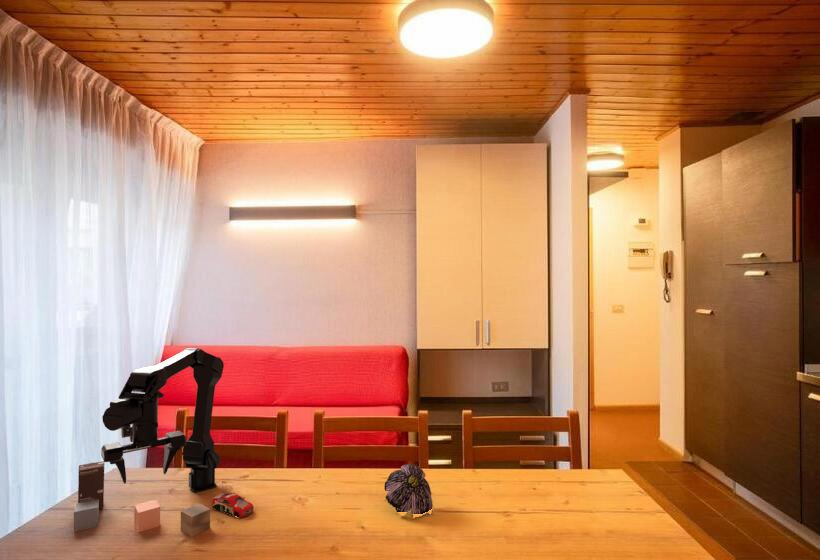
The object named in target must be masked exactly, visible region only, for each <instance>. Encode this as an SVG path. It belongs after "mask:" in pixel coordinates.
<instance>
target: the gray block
mask: <svg viewBox="0 0 820 560" xmlns="http://www.w3.org/2000/svg"><path fill="white" fill-rule="evenodd" d="M99 513H100V509H99V499H98V500H92V501H87V502H82V503H78V502H77V503H75V505H74V510H73V532H77V531H76V530H78V531H81V530H82V529H83V530H88V529H92V528H95V527H98V526H99V520H100V519H99V517H100V514H99Z"/></svg>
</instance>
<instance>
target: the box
mask: <svg viewBox="0 0 820 560" xmlns="http://www.w3.org/2000/svg"><path fill="white" fill-rule="evenodd" d="M77 483H78V485H77V486H78V487H77V488H78V489H77V490H78V492H77V493H78V494H77V503H82V502H87V501H92V500H98V499H99V510H100V509H104V505H105V504H104V501H105V500H104V498H105V497H104V495H105V494H104V493H105V462H104V461H96V462H90V463H86V464H85V463H84V464H80V465H78V482H77Z"/></svg>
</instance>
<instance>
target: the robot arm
mask: <svg viewBox="0 0 820 560" xmlns="http://www.w3.org/2000/svg"><path fill="white" fill-rule="evenodd" d="M224 367H225V364H224V361H223V360H222V359H221V357H219V356H215V355H213V354H211V353H208V352H206V351H205V350H204V349H202V348H199V347H187V348H185V349H183V351H181V352H179V353H177V354H175V355H173V356H172V357H169V358H168V359H166V360H164V361H162V362H160V363H158V364H156V365H150V366H145V367H140V368H138V369H135V370H133V371H132V372H131V373H130V374H129V377H128V379H127V381H126V382H125V384H124V386H123V388H122V390H121V392H120V393H119V396H118V399H117V400H112V401H110V402H109V407H108V408H106V409H105V410H104V412H103V415H102V416H101V417H102V423H103V425H104V427H105V428H106V429H107V430H108V431H111V432H112V431H117V430H120V429H121V433H120V434H121V438H122V439H124V438H129V442H131V443H129V444H125V445H122V444H121V442H120V441H118V442H117V441H116V442H112V443H107V444H104V445H102V447H101V448H100V449H101V450H100V454H101V459H102V460H103V461H104V463H109V465H115V466H116V468H117V469H118V472H119V474H120V477H121V480H122V483H123V484H124V485H125V484H126V483H127V474H126V473H127V471H126V465H125V464H126V462H125V459H124V454H127V453H132V452H135V451H142V450H147V449H151V448H156V447H162V446H163V447H164V448H163V449H164V454H163V455H164V457H163V466H162V468H163V469H162V472H163V475H166V474H167V473H168V470H169V467H170V465H171V463H172V461H173V459H174V457H175V456H176V455H177V453H178V451H181V450H182V452H181V455H182V461H183V462H184V465H185V468H189V469H190V472H189V473H188V487H189V488H190V489H191V490H192V491H193V493H198V492H202V491H207V490H210V489H214V488H217V487H218V486H217V483H216V482H215V481H216V469H217V468H218V466H220V465H221V464H220V463H221V456H220V455H219V454H217V453H216V452H215V442H214V440H213V437H212V435H211V426H212V419H213V418H212V416H213V409H214V408H213V407H214V400H215V399H214V397H215V389H216V385H217V384H218V382H219V381H220V380H221V378H222V375H223V370H224ZM188 368H191V369H192V370H193V371H192V373H193V379H194V382H195V383H196V385H197V388H196V399H195V406H194V416H193V421H192V432H191V435H190V437H188V439H187V436H186V435H185V434H184V433H183V432H182V431H181V430H175V431H170V432H166V433H165V437H160V438H158V437H159V436H158V435H159V430H158V429H159V422H158V421H159V399H161V398H164V396H165V394H164V393H163V392H161V391H160V390H161V389H162V388H163V387H165V386H166V385H167V382H168V380H169V379H170V378H172V377H173V376H175V375H177V374H178V373H180V372H182V371H184V370H186V369H188ZM131 425H132V426H131Z"/></svg>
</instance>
